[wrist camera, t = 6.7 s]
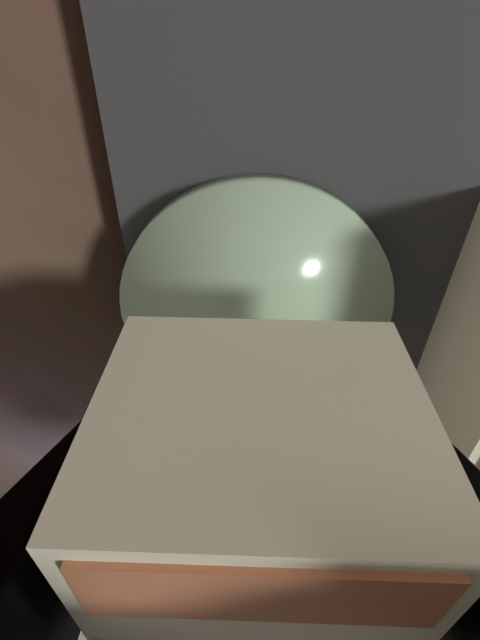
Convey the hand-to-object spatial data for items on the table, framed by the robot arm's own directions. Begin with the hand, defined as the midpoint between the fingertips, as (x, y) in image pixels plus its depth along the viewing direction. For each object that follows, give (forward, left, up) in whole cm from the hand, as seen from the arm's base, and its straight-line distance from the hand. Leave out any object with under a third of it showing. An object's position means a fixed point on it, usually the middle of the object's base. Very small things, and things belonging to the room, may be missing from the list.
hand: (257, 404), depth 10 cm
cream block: (0, 0, -1) cm, 1 cm away
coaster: (0, 0, -4) cm, 4 cm away
